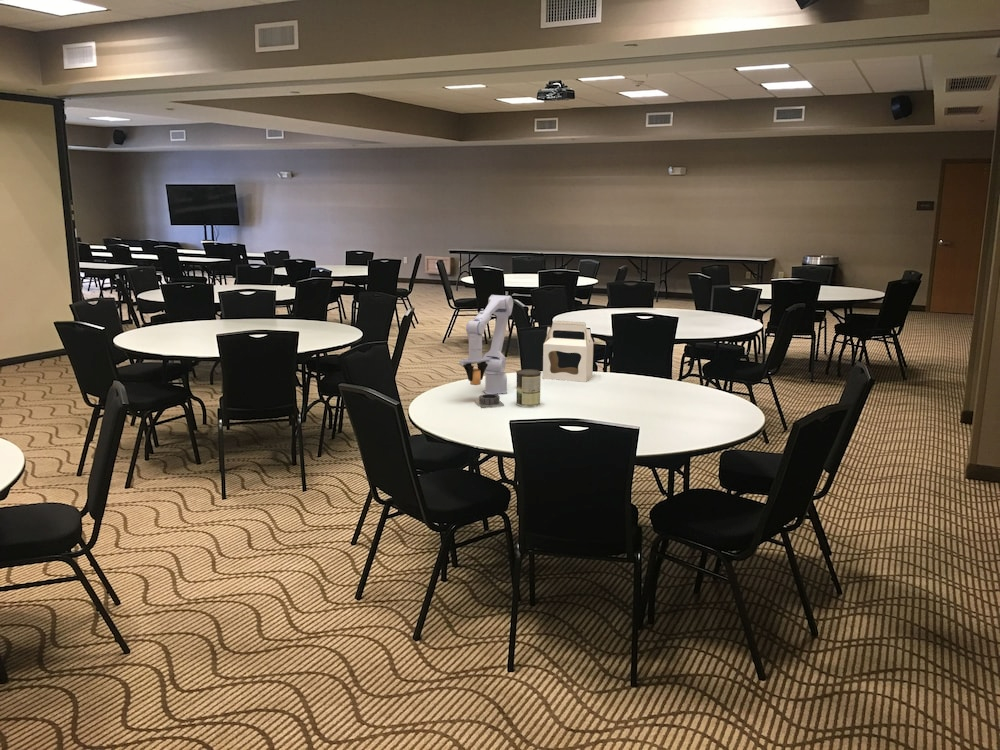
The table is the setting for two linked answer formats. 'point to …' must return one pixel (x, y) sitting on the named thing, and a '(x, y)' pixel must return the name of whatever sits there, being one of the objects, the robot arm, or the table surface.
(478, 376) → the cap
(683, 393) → the table surface
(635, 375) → the table surface
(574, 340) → the gable box
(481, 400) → the dark grey low piece
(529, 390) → the coffee can
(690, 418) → the table surface
